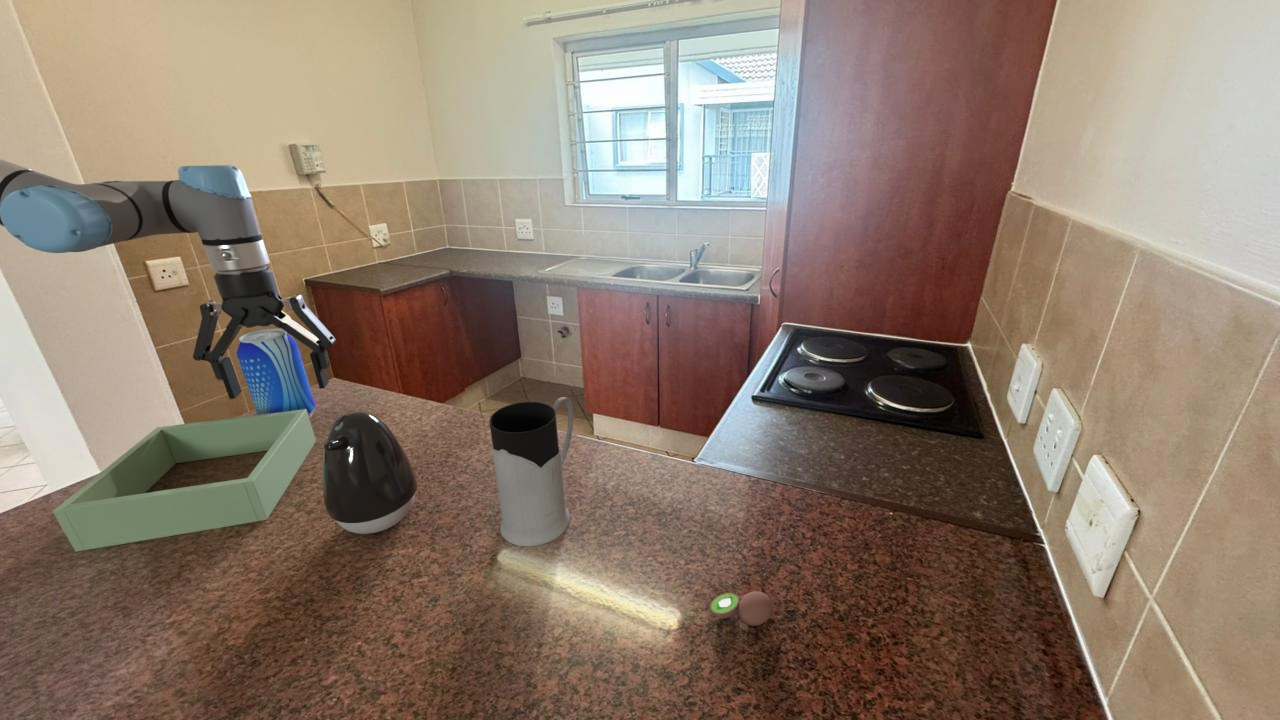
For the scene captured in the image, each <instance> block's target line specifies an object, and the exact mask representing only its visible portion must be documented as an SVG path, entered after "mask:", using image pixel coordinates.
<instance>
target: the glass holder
mask: <svg viewBox="0 0 1280 720" xmlns="http://www.w3.org/2000/svg"><path fill="white" fill-rule="evenodd" d="M563 402H565V403H566V406H567V429H566V433H565V434H566V435H565V440H564V444H563V447H562V450H561V447H560V445H559V436H558V435H559V434H558V423H557V412H558V409H559V407H560V405H561V404H562V403H563ZM488 421H489V422H488V423H489V429H490V436H491V441H492V450H491V453H492V460H493V467H494V474H495V480H496V487H497V494H498V500H499V508H500V513H501V519H500V522H499V532H500V533H499V534H500V535H501V536H502V538H503V539H504V540H505V541H506V542H508V543H510V544H512V545H515V546H519V547H537V546H541V545H545V544H548V543H551V542H552V541H554V540H556V539H557V538H559V537H560V536H562V534H563V533H564V532H566V530H567V528H568V527H569V525H570V521H571V513H570V511H569V509H568V508H567V506H566V496H565V485H564V474H563V473H564V472H563V465H564V463H565V459H566V456H567V454H568V451H569V449H570V447H571V446H570V445H571V440H572V435H573V430H574V429H573V427H574V407H573V402H572V401H571V399H570V398H568V397H565V396H563V397H559V398H557V399H556V400H555V402H554V403H553V404H552V406H551V405H550V404H547V403H543V402H538V401H522V402H516V403H512V404H509V405H505V406H503V407H501V408H499V409H497V410H496V411H495V412H493V413H492V414H491V415H490V417H489V420H488Z"/></svg>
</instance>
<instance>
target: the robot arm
mask: <svg viewBox="0 0 1280 720" xmlns="http://www.w3.org/2000/svg"><path fill="white" fill-rule="evenodd" d="M177 174H178V179H175V180H174V179H173V180H172V179H171V180H141V181H140V180H138V181H137V180H127V181H125V180H112V181H111V180H108V181H102V182H92V183H83V184H79V183H78V184H77V183H71V182H68V181H65V180H62V179H59V178H57V177H53V176H51V175H46V174H44V173H41V172H38V171H35V170H33V169H31V168H28V167H25V166H21V165H19V164H16V163H13V162H10V161H7V160H4V159H1V158H0V226H1V227H3V228H5V229H6V231H7V232H8V233H9V234H10V235H11V236H12V237H14V238H16V239H17V240H18V241H20V242H21V243H23V244H24V245H25V246H26V247H28V248H31V249H34V250H35V251H40V252H43V253H47V254H48V253H49V254H65V253H66V254H67V253H81V252H87V251H91V250H95V249H97V248H100V247H101V248H102V247H105V246H109V245H113V244H118V243H121V242H128V241H132V240H137V239H141V238H146V237H150V236H151V237H152V236H159V235H173V234H174V235H175V234H195V233H198V236H199V237H200V240H201V243H202V246H203V248H204V252H205V255H206V258H207V260H208V264H209V267H210V269H211V270H212V271H213V272H216V273H215V274H214V275H213V279H214V282H215V285H216V288H217V291H218V294H219V296H220V297H221V300H222V302H216V301H215V300H212V299H211V300H208V301H206V302H204V303H201V304H200V305H199V310H200V315H201V321H200V325H199V329H198V333H197V338H196V342H195V345H194V351H193V353H192V354H193V355H192V358H193V360H194V361H198V362H199V361H204V362H208V363H209V364H210V366H211V368H212V371H213V373H214V376H215V379H217V381H222V382H223V385H224V387H225V390H226V393H227V396H228V398H229V400H231V399H232V400H233V399H236V398H237V397H238V396H239V395H240V394H241V393H243V391H242V388H241V385H240V381H239V379H238V377H237V374H236V371H235V368H234V364H233V362H232V359H231V357H230V356H227V357H225V355H226V352H227V351H228V349H229V348H230V346H231V345H232V343H233V341H234V340H235V339H236V337H237V335H238V334H239V332H240V331H241V329H242V328H243V327H245V328H247V329H250V328H255V327H269V326H270V325H274V326H275V327H276V328H279V329H283V330H285V331H286V332H287V334H288V335H289V336H291V337H292V338H295V340H296V341H299V342H300V343H301V344H303V345H304V346H306V347H307V348H309V349H310V350H312V351H311V352H310V353H309V357H310V360H311V363H312V367H313V370H314V373H315V377H316V381H317V385H318V388H319V389H320V390H321V389H325V388H326V387H327V386H328V384H329V383H330V380H329V376H328V374H327V373H328V372H327V370H326V369H328V367H329V366H330V365H331V364H330V358H329V355H328V351H327V349H330V348H332V347H333V346H334V345H335V343H337V339H336V338H335V336H334V335H333V334H332V333H331V332H330V330H328V328H327V327H326V326H325V325H324V324H323V322H321V320H320V319H319V318H318V317H317V316H316V315H315V314H314V313H313V312H312V310H311V309H310V308H309V307H308V306H307V304H306V302H305V299H304V297H303V295H302V294H300V293H296V294H295V295H293V296H287V297H282V296H281V294H280V292H279V288H278V284H277V282H276V279H275V274H274V271H273V269H272V268H271V267H269V265H270V263H271V261H270V258H269V255H268V252H267V249H266V246H265V242H264V239H263V234H262V232H261V229H260V226H259V222H258V218H257V214H256V210H255V207H254V204H253V198H252V194H251V193H250V191H249V188H248V186H247V182H246V180H245V177H244V174H243V172H242V171H241V169H239V168H238V167H236V166H235V165H230V164H221V165H219V164H218V165H216V164H213V165H181V166H180V167H179V168H178V169H177ZM285 306H286V307H287V308H288V309H289V310H291V311H293V313H294V314H295V315H296V317H297V318H298V319H299V320H300V321H301V322H302V323H303V324H304V325H305V326H306V327H307V328H305V327H303V326H302V325H301V324H299V323H298V322H296V321H295V320H293V318H292V317H291V316H290V315H289V314H287V313H286V312H285V311H283V309H284V307H285ZM222 312H223V313H225V314H226V315H228V316H229V317H230V321H229V322H228V324H227V325H226V327H225V330H224V331H223V333H222V335H221V336H220V338H219V339H218V341H217V342H216V344H215V346H214V347H213V349H212V344H213V340H214V336H215V332H216V328H217V324H218V320H219V315H221V314H222ZM307 329H308V330H307ZM310 331H311V332H310ZM211 349H212V350H211ZM223 357H224V358H223Z"/></svg>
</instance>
